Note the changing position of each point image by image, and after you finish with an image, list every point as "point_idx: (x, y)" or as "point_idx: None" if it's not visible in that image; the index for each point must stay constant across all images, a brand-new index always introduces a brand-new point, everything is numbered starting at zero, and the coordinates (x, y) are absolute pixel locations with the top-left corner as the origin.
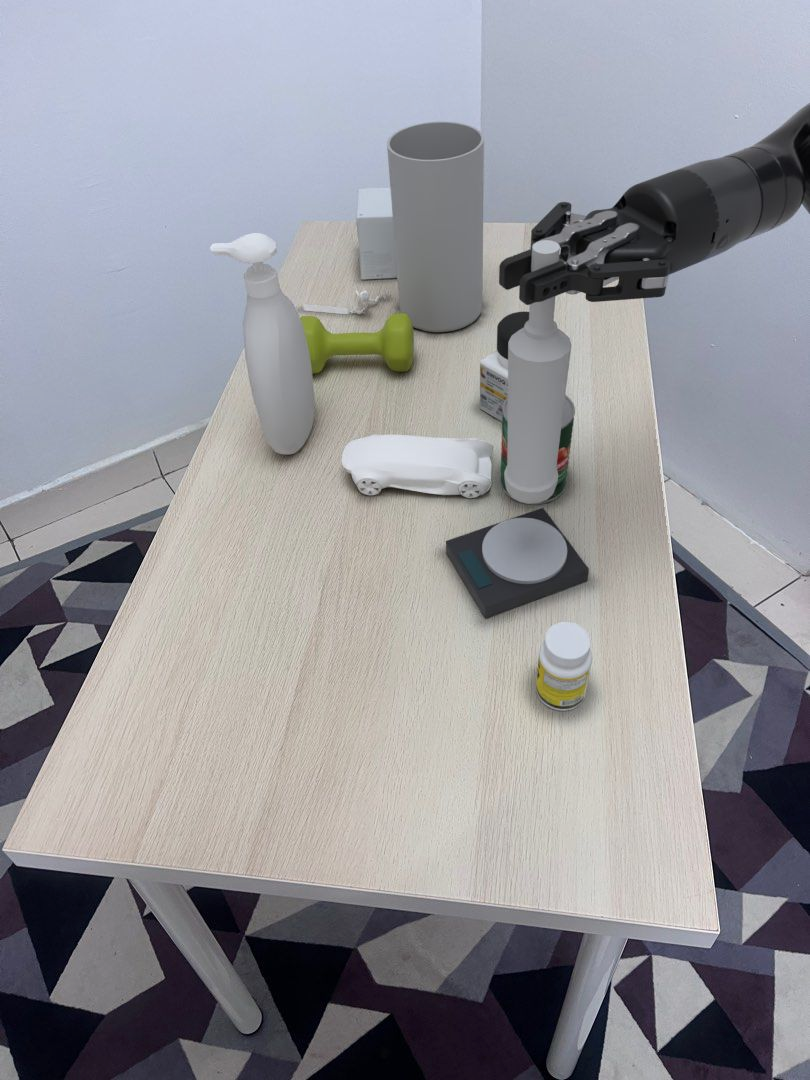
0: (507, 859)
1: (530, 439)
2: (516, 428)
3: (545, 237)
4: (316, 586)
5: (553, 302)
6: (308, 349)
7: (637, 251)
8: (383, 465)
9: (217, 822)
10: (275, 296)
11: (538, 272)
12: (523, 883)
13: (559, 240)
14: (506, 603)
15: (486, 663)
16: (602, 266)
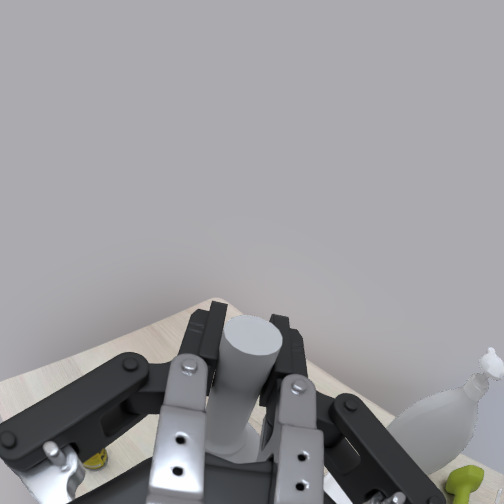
0: (66, 372)
1: None
2: None
3: (331, 417)
4: (262, 421)
5: (208, 409)
6: (458, 474)
7: (101, 492)
8: (329, 485)
9: (174, 328)
10: (465, 396)
11: (215, 317)
12: (56, 368)
13: (289, 410)
14: None
15: (140, 449)
16: (125, 378)
